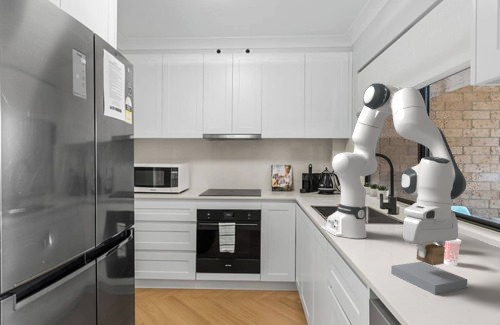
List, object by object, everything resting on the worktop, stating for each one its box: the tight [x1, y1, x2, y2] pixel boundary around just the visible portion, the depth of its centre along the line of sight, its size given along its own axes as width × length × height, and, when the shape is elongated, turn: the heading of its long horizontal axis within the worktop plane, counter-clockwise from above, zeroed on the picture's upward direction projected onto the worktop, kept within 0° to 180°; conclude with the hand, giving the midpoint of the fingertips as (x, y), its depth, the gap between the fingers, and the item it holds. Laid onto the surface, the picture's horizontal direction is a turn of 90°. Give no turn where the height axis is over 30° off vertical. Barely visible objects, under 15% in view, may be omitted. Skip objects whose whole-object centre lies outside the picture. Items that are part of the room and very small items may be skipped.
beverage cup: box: [443, 238, 462, 267], centre depth 102 cm, size 6×6×14 cm
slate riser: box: [390, 261, 468, 295], centre depth 86 cm, size 14×14×2 cm
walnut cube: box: [416, 242, 445, 266], centre depth 85 cm, size 5×5×5 cm
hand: (430, 255), depth 85 cm, fingers closed on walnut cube, 5 cm apart
